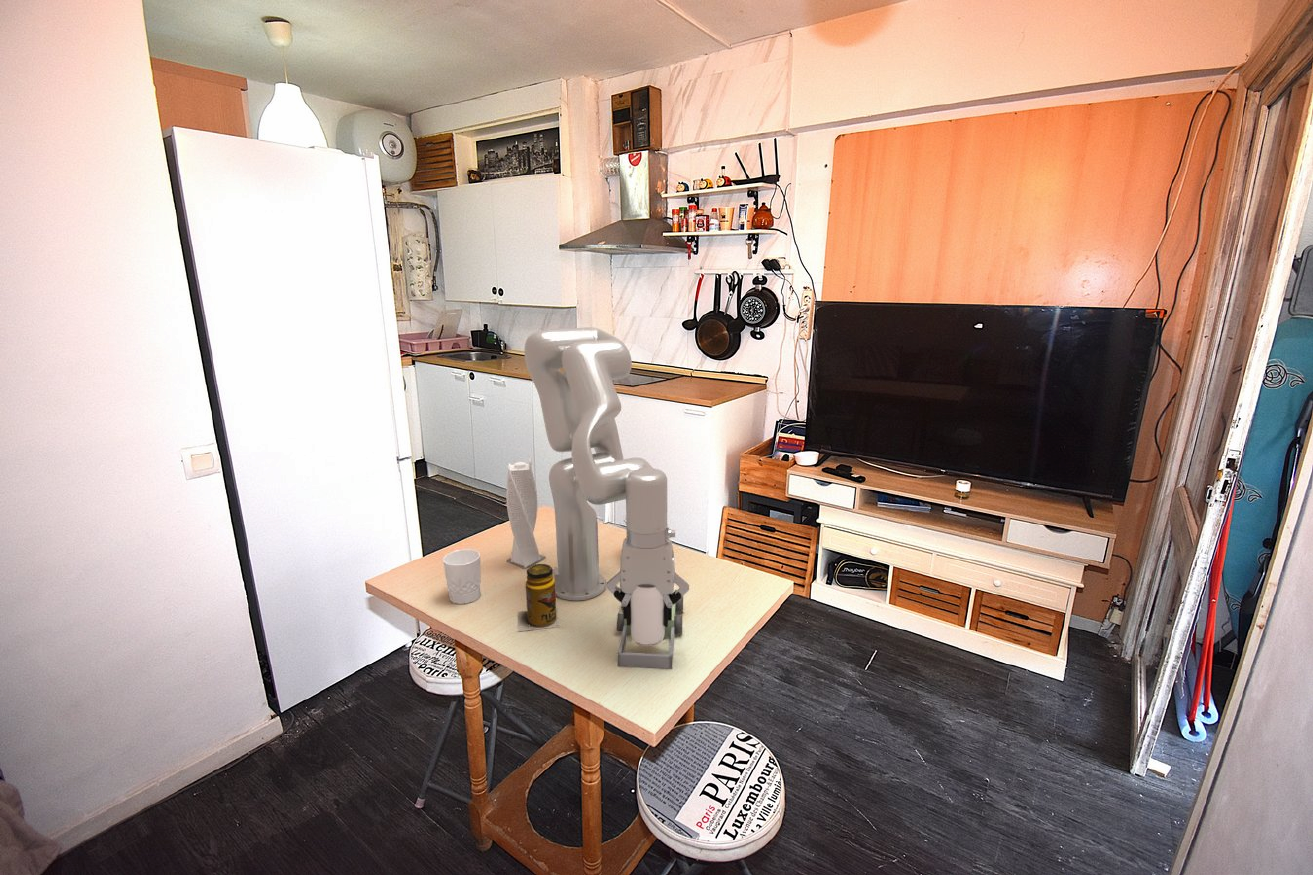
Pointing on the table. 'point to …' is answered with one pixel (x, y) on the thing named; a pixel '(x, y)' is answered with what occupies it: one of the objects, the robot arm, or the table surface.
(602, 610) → the table surface
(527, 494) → the skyscraper
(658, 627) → the can
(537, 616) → the condiment
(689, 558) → the table surface
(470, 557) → the white cup
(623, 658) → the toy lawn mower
